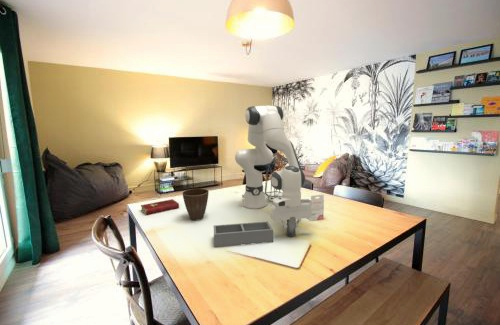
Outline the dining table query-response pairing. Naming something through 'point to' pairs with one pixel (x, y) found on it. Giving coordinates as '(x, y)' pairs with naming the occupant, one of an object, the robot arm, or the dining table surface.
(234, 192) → the dining table surface
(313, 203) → the ink cartridge box
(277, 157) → the geometric lantern
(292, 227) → the metal cell
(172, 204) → the hardcover book
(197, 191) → the plant pot
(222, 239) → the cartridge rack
